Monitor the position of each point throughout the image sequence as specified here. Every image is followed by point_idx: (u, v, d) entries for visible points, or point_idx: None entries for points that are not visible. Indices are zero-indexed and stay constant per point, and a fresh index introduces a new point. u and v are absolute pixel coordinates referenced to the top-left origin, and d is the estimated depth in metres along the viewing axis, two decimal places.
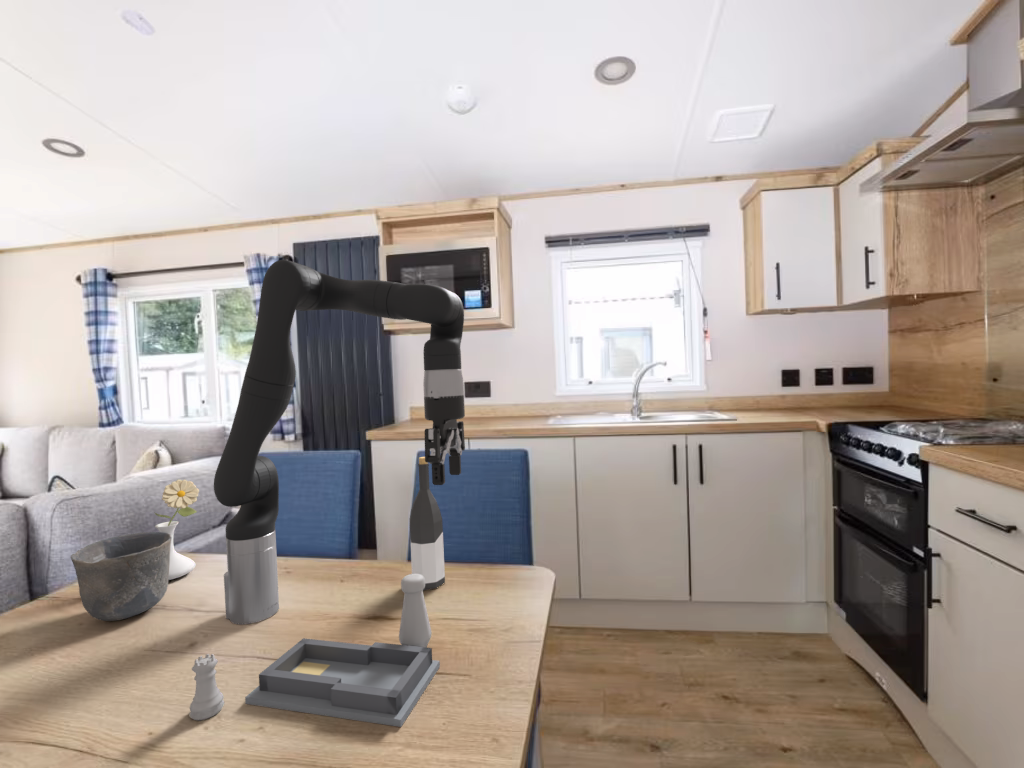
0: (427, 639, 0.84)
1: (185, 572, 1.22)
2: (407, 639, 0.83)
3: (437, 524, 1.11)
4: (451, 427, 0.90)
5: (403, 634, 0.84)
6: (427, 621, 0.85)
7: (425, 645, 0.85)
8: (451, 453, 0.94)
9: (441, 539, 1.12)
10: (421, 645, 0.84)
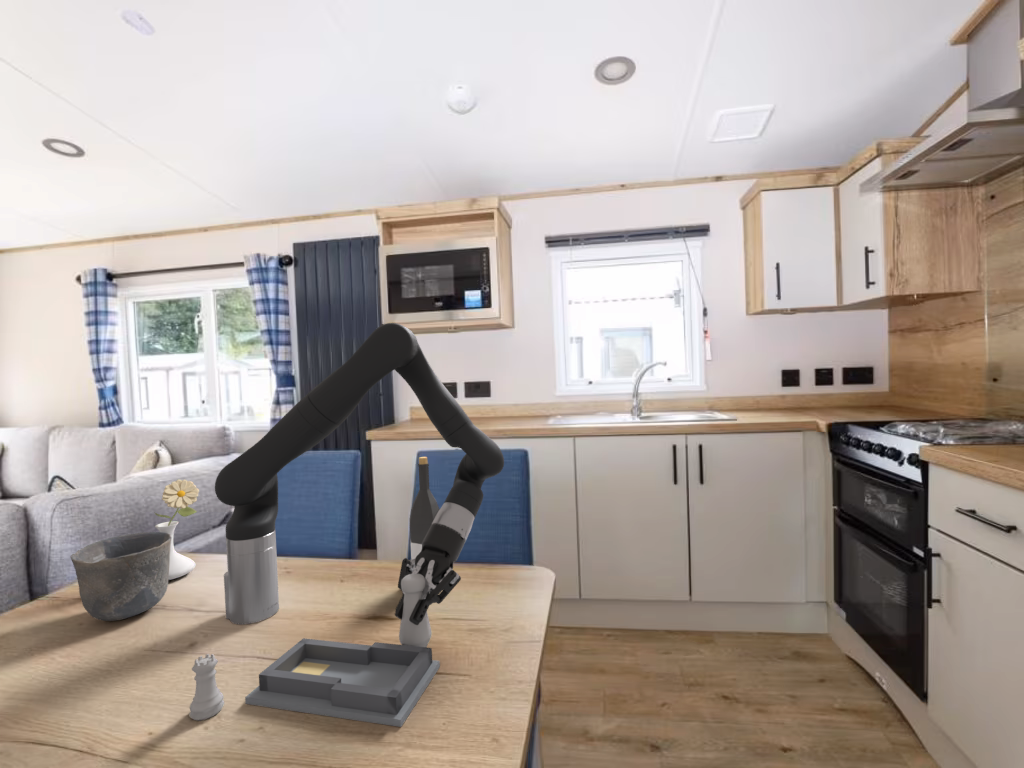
0: (427, 639, 0.84)
1: (185, 572, 1.22)
2: (407, 639, 0.83)
3: None
4: None
5: (403, 634, 0.84)
6: (427, 621, 0.85)
7: (425, 645, 0.85)
8: None
9: None
10: (421, 645, 0.84)
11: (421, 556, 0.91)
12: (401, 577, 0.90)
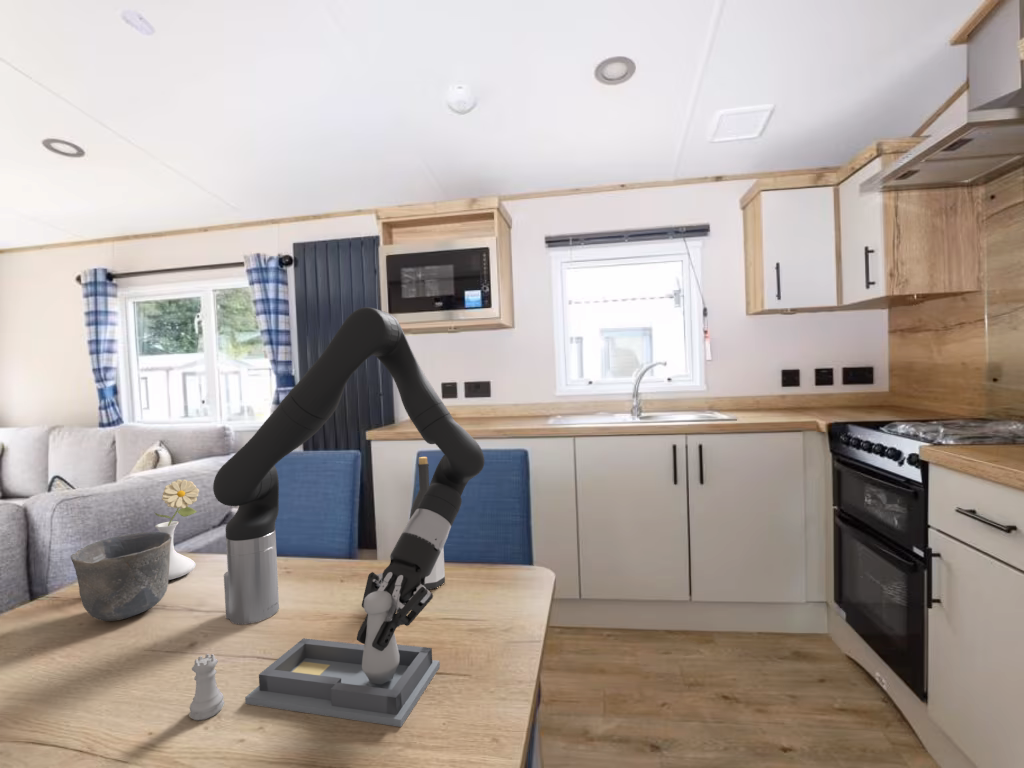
0: (394, 667, 0.73)
1: (185, 572, 1.22)
2: (370, 668, 0.72)
3: None
4: None
5: (365, 661, 0.73)
6: (394, 645, 0.75)
7: (391, 673, 0.74)
8: None
9: None
10: (386, 674, 0.73)
11: (389, 570, 0.80)
12: (366, 594, 0.79)
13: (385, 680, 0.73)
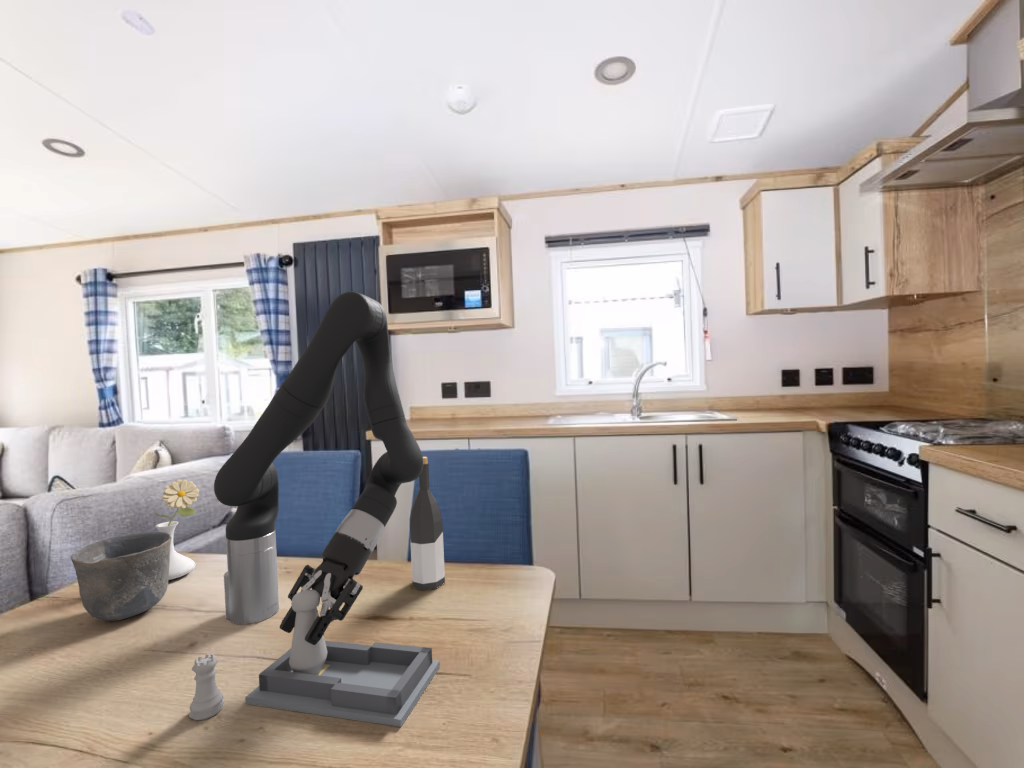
0: (319, 662, 0.77)
1: (185, 572, 1.22)
2: (295, 663, 0.76)
3: (437, 524, 1.11)
4: None
5: (291, 657, 0.76)
6: (321, 642, 0.78)
7: (317, 669, 0.77)
8: None
9: (441, 539, 1.12)
10: (312, 669, 0.76)
11: (320, 569, 0.83)
12: (295, 586, 0.83)
13: None
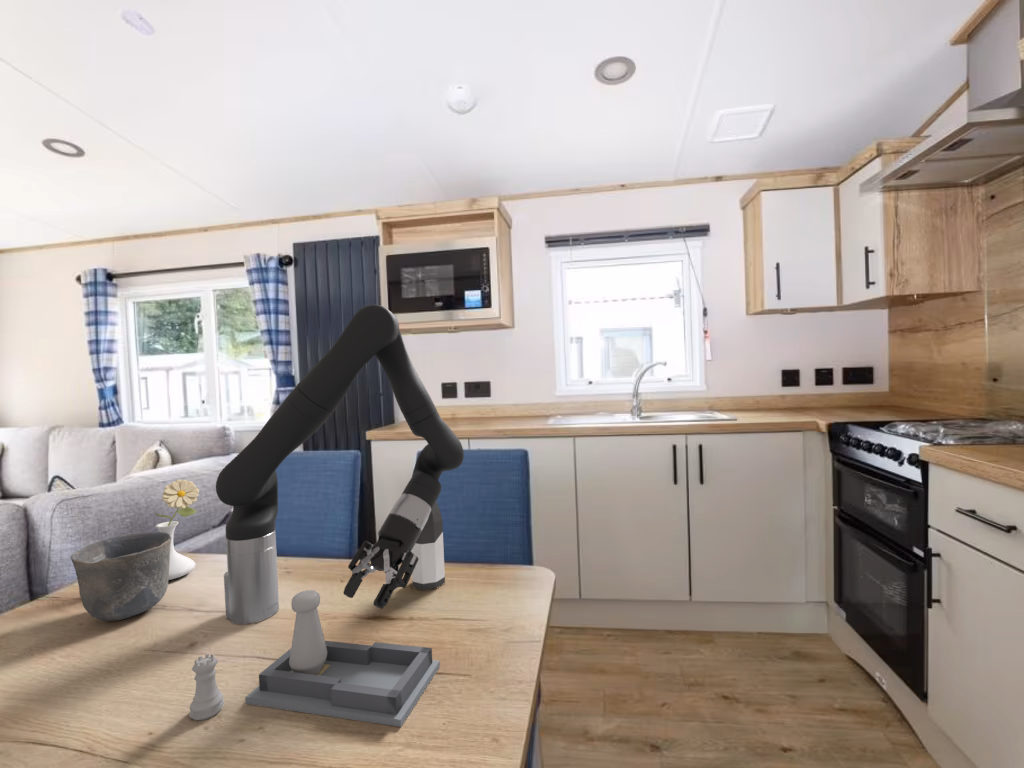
0: (319, 663, 0.77)
1: (185, 572, 1.22)
2: (295, 663, 0.76)
3: (437, 524, 1.11)
4: None
5: (291, 657, 0.76)
6: (321, 643, 0.78)
7: (317, 669, 0.77)
8: (358, 573, 0.92)
9: (441, 539, 1.12)
10: (312, 670, 0.76)
11: (377, 547, 0.94)
12: (355, 558, 0.94)
13: None
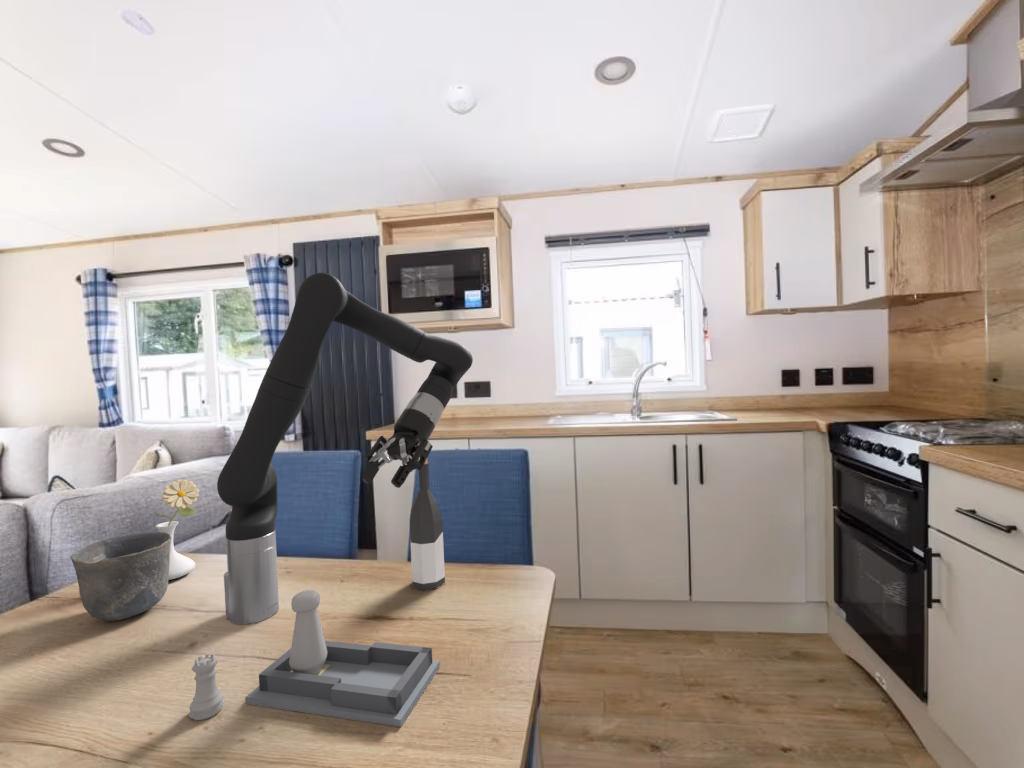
0: (319, 663, 0.77)
1: (185, 572, 1.22)
2: (295, 663, 0.76)
3: (437, 524, 1.11)
4: None
5: (291, 657, 0.76)
6: (321, 643, 0.78)
7: (317, 669, 0.77)
8: (375, 461, 0.97)
9: (441, 539, 1.12)
10: (312, 670, 0.76)
11: None
12: (371, 450, 0.99)
13: None
